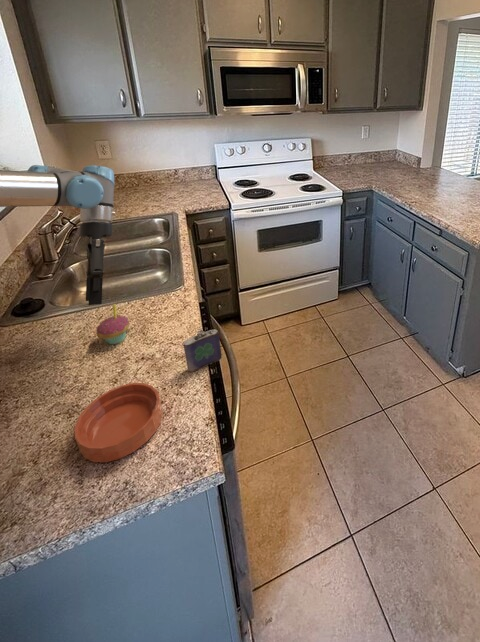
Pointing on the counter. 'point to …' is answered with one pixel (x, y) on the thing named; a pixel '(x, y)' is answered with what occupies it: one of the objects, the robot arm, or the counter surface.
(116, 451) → the bowl
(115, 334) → the cupcake
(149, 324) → the counter surface
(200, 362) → the flask
